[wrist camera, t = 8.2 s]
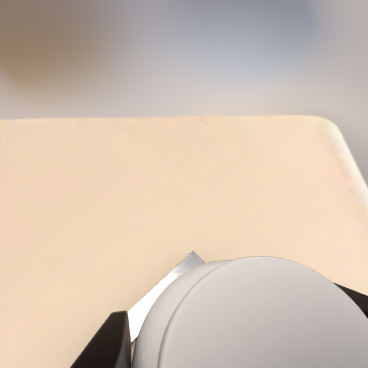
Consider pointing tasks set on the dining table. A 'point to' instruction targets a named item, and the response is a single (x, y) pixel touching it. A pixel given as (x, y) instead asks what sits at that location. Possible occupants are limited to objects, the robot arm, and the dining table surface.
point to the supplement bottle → (252, 319)
